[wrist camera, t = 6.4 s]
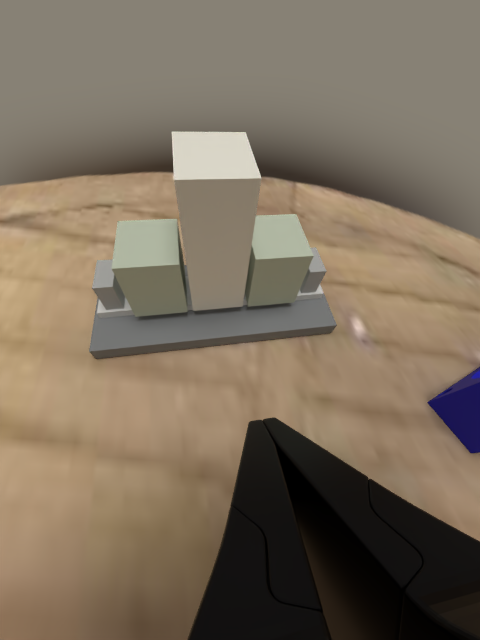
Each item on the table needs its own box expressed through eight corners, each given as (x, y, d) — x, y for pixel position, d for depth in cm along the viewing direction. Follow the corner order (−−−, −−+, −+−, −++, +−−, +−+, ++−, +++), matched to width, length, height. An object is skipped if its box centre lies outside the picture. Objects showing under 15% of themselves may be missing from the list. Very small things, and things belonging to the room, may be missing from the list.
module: (242, 306, 24) (261, 178, 14) (193, 310, 23) (174, 179, 13) (234, 263, 27) (244, 130, 16) (189, 266, 26) (171, 129, 16)
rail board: (330, 332, 26) (372, 277, 19) (96, 358, 23) (42, 303, 16) (305, 266, 31) (331, 202, 24) (107, 280, 27) (69, 210, 20)
